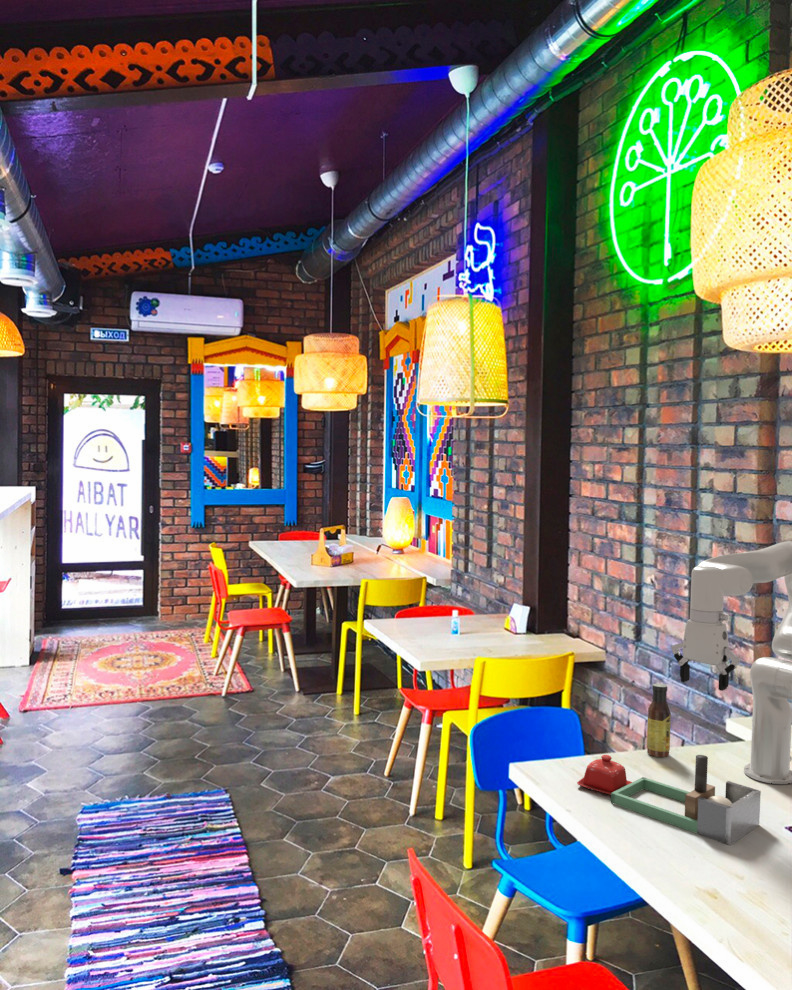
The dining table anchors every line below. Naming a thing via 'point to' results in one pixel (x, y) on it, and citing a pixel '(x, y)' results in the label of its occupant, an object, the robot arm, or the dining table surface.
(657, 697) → the sauce bottle
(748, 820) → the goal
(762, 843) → the dining table surface
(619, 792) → the frame
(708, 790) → the striker
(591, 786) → the butter dish
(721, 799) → the cream round ball
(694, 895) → the dining table surface
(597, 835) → the dining table surface
